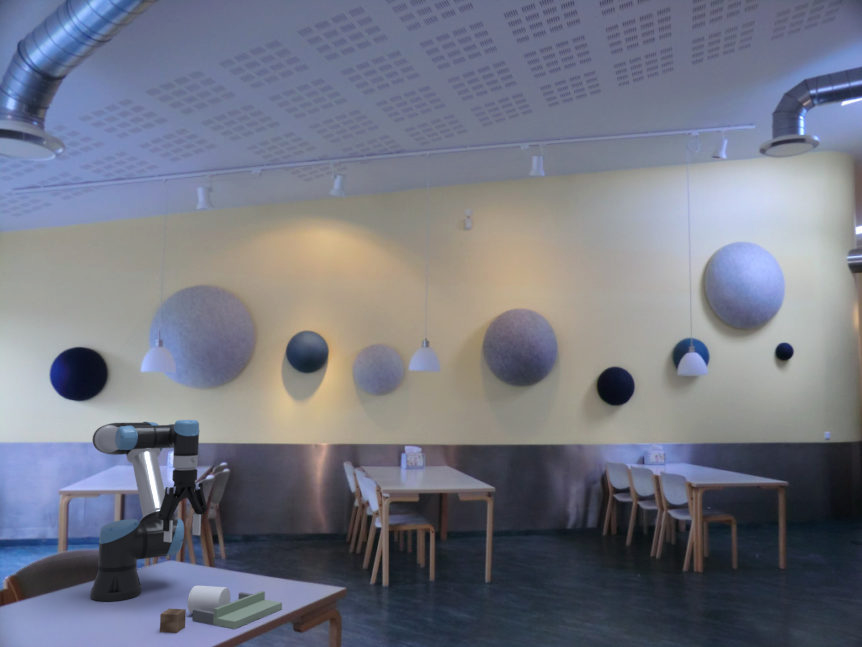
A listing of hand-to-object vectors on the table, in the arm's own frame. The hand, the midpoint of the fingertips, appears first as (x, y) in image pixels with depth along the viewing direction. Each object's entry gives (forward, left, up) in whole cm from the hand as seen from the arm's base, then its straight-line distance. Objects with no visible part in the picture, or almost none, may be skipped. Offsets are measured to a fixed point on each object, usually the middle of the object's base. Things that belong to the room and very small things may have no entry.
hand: (182, 538), depth 229 cm
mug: (+15, -2, -20) cm, 25 cm away
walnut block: (+17, -19, -20) cm, 33 cm away
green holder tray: (+24, 0, -20) cm, 31 cm away
